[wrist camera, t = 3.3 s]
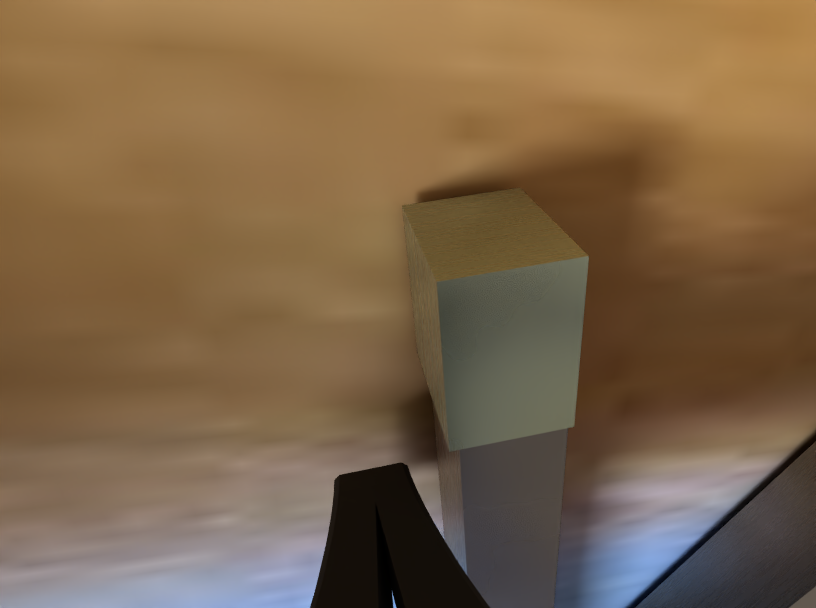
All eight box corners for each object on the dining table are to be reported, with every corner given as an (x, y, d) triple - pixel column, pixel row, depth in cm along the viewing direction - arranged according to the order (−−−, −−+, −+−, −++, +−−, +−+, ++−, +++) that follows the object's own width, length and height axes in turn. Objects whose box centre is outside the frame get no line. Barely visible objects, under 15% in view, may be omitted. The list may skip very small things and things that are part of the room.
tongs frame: (1032, 290, 14) (1262, 393, 10) (539, 726, 21) (584, 863, 18) (946, 221, 12) (1187, 317, 9) (448, 719, 20) (479, 868, 16)
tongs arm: (519, 187, 9) (589, 256, 7) (513, 675, 18) (543, 773, 16) (401, 205, 9) (436, 282, 7) (452, 690, 18) (474, 792, 16)
